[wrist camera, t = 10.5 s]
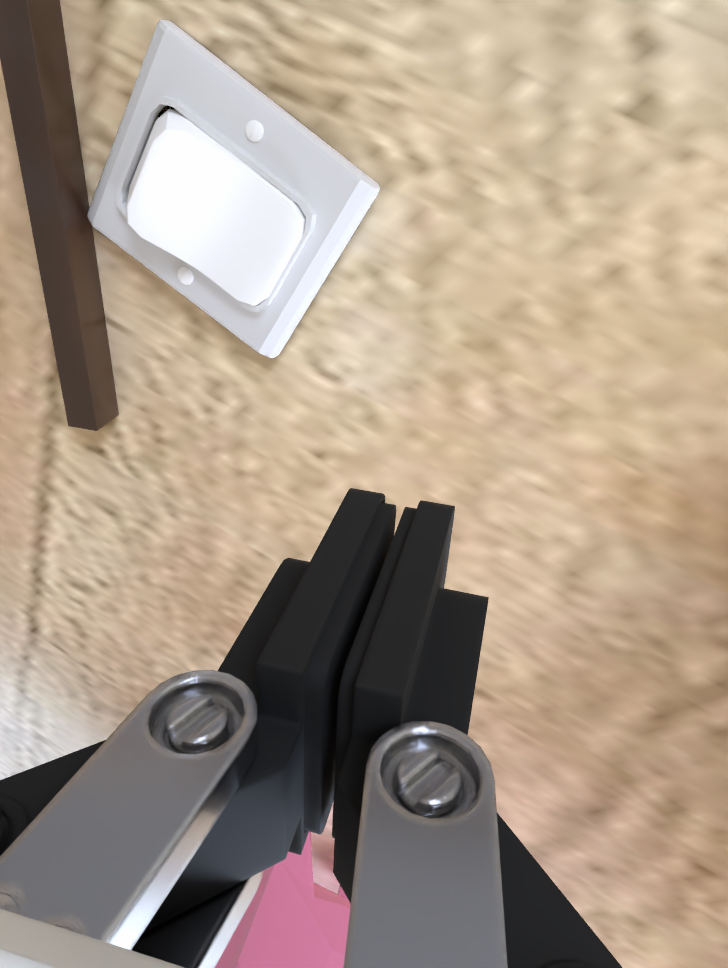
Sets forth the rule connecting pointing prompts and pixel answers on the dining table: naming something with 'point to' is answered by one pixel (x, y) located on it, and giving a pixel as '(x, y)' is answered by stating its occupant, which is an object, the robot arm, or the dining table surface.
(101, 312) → the back rail
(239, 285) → the light switch
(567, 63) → the dining table surface
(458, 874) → the robot arm
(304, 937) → the cat
